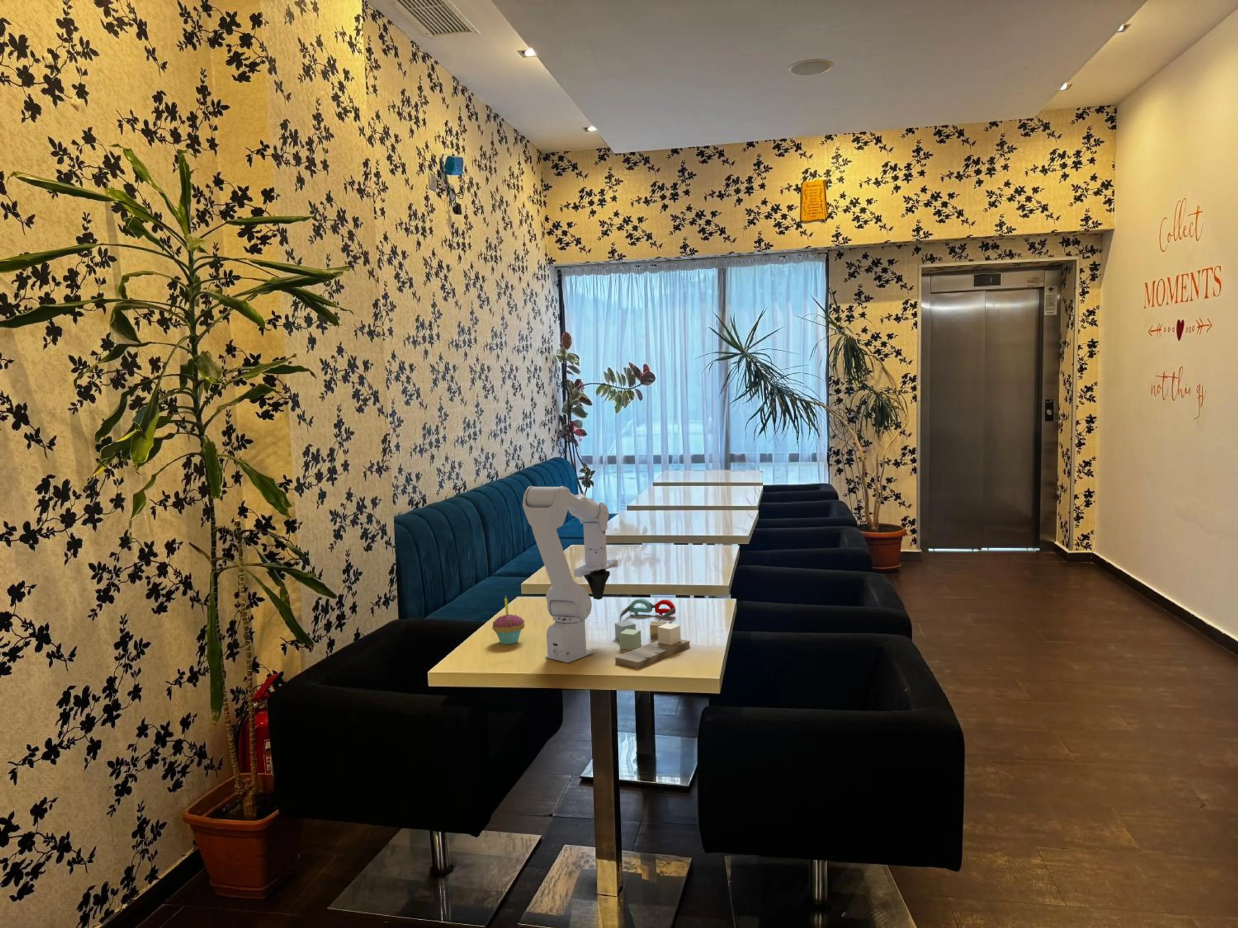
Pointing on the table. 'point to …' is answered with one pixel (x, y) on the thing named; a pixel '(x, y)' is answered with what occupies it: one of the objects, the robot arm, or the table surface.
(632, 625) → the slate blue block
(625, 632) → the sage block
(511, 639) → the cupcake
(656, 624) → the oak block
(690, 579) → the table surface
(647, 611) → the novelty glasses
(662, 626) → the slider
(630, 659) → the board
